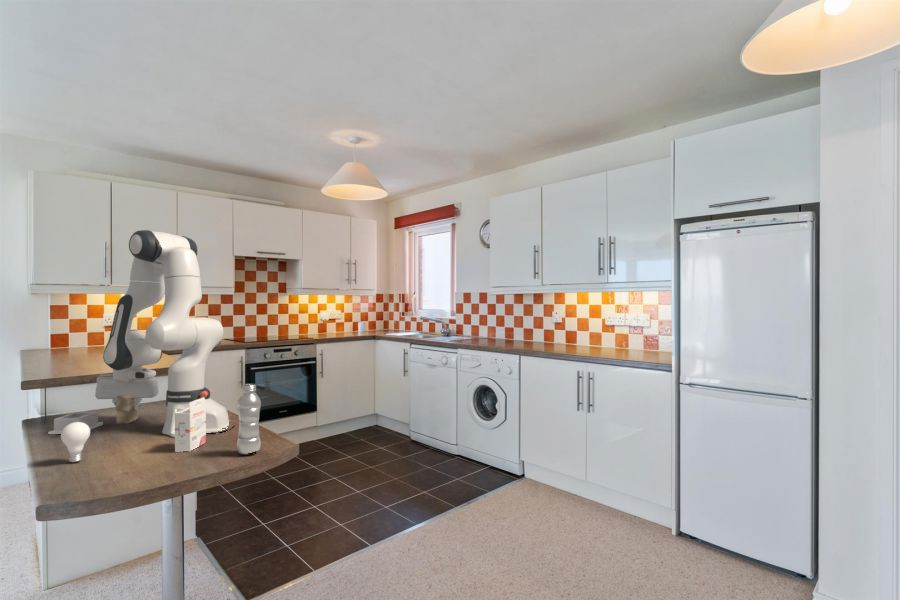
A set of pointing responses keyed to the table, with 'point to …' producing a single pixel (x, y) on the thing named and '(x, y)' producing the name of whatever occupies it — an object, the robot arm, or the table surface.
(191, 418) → the ink cartridge box
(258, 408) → the plastic bottle
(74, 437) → the lightbulb
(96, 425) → the cartridge dock
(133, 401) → the birch peg block
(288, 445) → the table surface
